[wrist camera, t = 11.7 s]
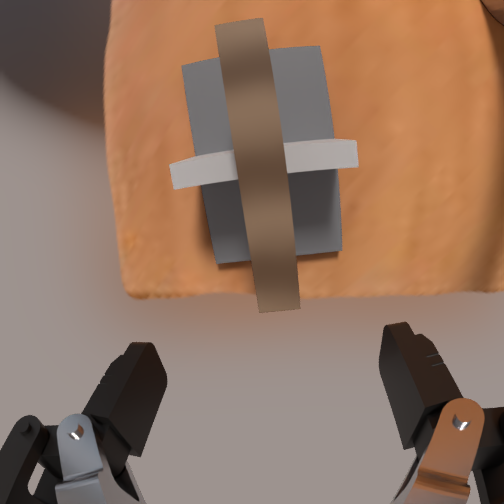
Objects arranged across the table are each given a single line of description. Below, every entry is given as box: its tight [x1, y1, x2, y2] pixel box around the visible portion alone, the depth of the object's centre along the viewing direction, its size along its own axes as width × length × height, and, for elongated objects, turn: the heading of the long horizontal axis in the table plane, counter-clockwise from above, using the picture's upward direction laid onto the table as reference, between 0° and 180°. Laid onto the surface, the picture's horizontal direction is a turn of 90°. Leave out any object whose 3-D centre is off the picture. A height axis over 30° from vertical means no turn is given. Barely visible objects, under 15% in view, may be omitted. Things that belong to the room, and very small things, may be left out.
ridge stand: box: [169, 46, 359, 264], centre depth 25 cm, size 22×14×10 cm, turn 8°
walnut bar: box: [215, 18, 300, 313], centre depth 19 cm, size 20×3×4 cm, turn 8°
